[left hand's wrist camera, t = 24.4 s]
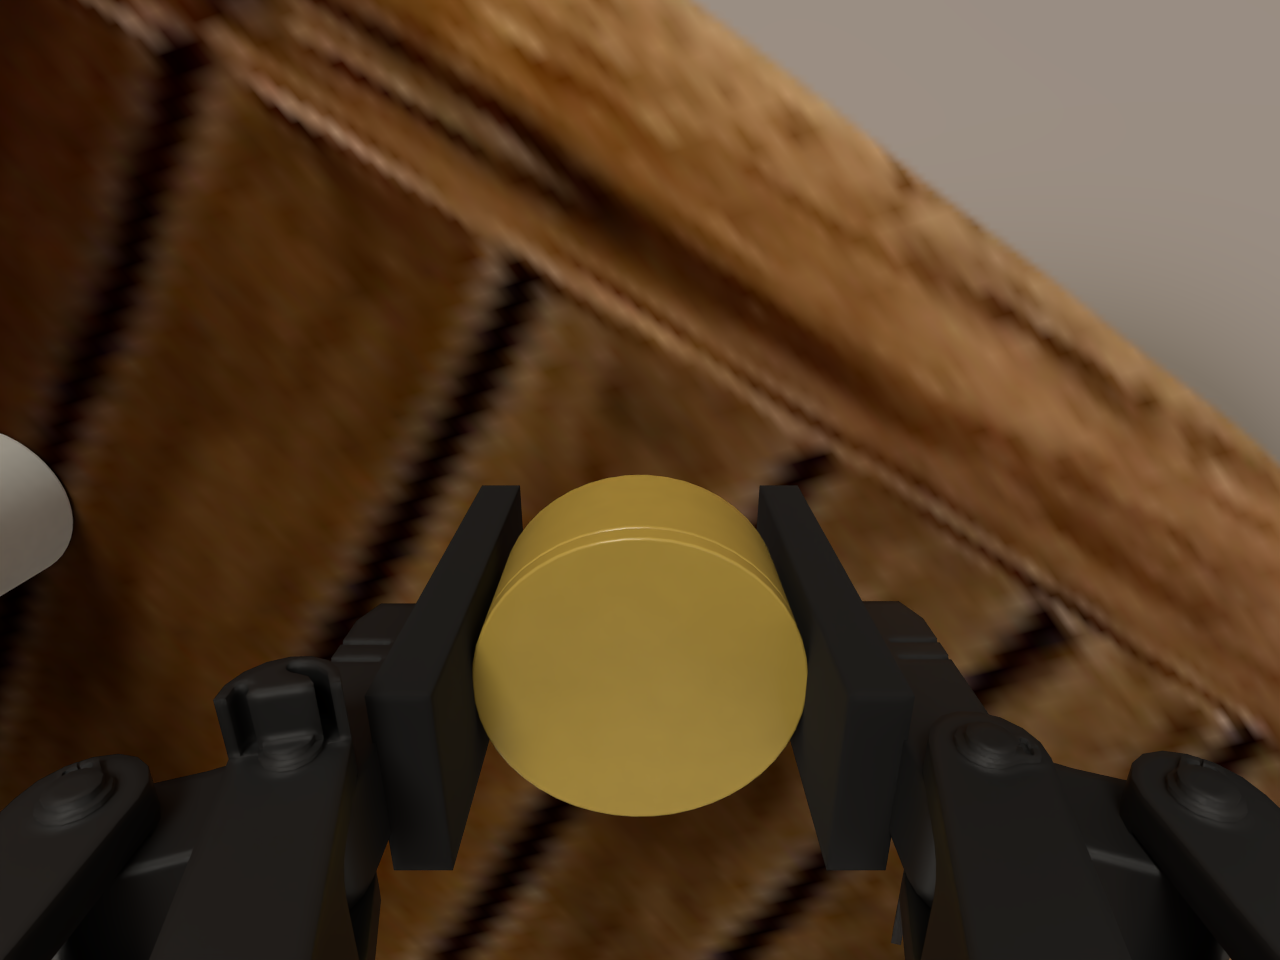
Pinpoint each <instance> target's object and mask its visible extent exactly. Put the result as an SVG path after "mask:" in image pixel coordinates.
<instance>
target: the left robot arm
mask: <svg viewBox="0 0 1280 960" xmlns="http://www.w3.org/2000/svg"><path fill="white" fill-rule="evenodd" d="M757 531H758V533H759V534H760V536H761V538H762V539H763V541H764V543H765V544H766V546H767V548H768V550H769V553H770V555H771V557H772V560H773V562H774V565H775V568H776V570H777V573H778V576H779V578H780V581H781V584H782V586H783V589H784V592H785V594H786V597H787V600H788V602H789V605H790V608H791V610H792V613H793V616H794V618H795V621H796V624H797V627H798V629H799V632H800V634H801V637H802V640H803V644H804V648H805V652H806V656H807V666H808V673H807V684H806V694H805V703H804V708H803V713H802V715H801V718H800V720H799V723H798V725H797V728H796V730H795V732H794V733H793V735H792V737H791V739H790V741H791V744H792V748H793V752H794V755H795V759H796V762H797V766H798V769H799V773H800V777H801V780H802V784H803V787H804V791H805V794H806V798H807V802H808V805H809V809H810V812H811V816H812V819H813V823H814V827H815V830H816V834H817V837H818V841H819V844H820V848H821V851H822V855H823V859H824V862H825V866H826V869H827V870H886V864H887V859H888V853H889V847H890V841H891V837H892V840H893V842H894V845H895V847H896V850H897V853H898V855H899V858H900V860H901V863H902V865H903V868H904V873H903V878H902V884H901V889H900V894H899V900H898V905H897V911H896V916H895V922H894V927H893V934H892V941H891V943H894V944H899V945H901V940H902V935H903V942H904V952H905V960H1229V958H1231V959H1232V960H1280V808H1279V807H1278V806H1277V805H1276V804H1275V803H1274V802H1273V801H1272V800H1270V799H1269V798H1268V797H1267V796H1266V795H1265V794H1264V793H1262V792H1261V791H1260V790H1258V789H1257V788H1256V787H1255V786H1253V785H1252V784H1251V783H1249V782H1248V781H1247V780H1245V779H1244V778H1243V777H1241V776H1239V775H1237V774H1235V773H1233V772H1231V771H1229V770H1227V769H1225V768H1223V767H1221V766H1220V765H1218V764H1216V763H1213V762H1210V761H1207V760H1205V759H1201V758H1198V757H1195V756H1192V755H1188V754H1183V753H1175V752H1167V751H1158V752H1152V753H1146V754H1142V755H1141V756H1140V757H1139V758H1138V759H1136V760H1135V761H1134V762H1133V763H1132V765H1131V769H1130V772H1129V775H1128V778H1127V780H1122V779H1118V778H1113V777H1109V776H1104V775H1100V774H1095V773H1091V772H1086V771H1082V770H1077V769H1073V768H1069V767H1066V766H1063V765H1059V764H1056V763H1053V761H1052V759H1051V757H1050V756H1049V754H1048V753H1047V751H1046V750H1045V748H1044V747H1043V745H1042V744H1041V743H1040V742H1039V741H1038V740H1037V739H1035V738H1034V737H1033V736H1032V735H1030V734H1029V733H1028V732H1027V731H1025V730H1024V729H1023V728H1021V727H1019V726H1017V725H1015V724H1013V723H1011V722H1009V721H1007V720H1005V719H1002V718H1000V717H996V716H992V715H989V714H988V713H987V711H986V710H985V708H984V707H983V705H982V704H981V702H980V701H979V700H978V698H977V697H976V695H975V694H974V692H973V691H972V689H971V688H970V686H969V685H968V683H967V682H966V680H965V679H964V678H963V676H962V675H961V673H960V672H959V670H958V669H957V667H956V666H955V664H954V663H953V661H952V660H951V659H948V654H947V653H946V651H945V650H944V648H943V647H942V645H941V644H940V643H937V638H936V637H935V635H934V634H933V632H932V631H931V629H930V628H929V626H928V625H927V623H926V622H925V620H924V619H923V618H922V617H920V616H919V615H917V614H916V613H915V612H913V611H912V610H910V609H909V608H907V607H906V606H905V605H903V604H902V603H900V602H899V601H862V600H861V598H860V597H859V595H858V593H857V591H856V589H855V588H854V586H853V584H852V582H851V581H850V579H849V577H848V575H847V573H846V572H845V570H844V568H843V566H842V564H841V563H840V561H839V559H838V557H837V556H836V554H835V552H834V550H833V548H832V547H831V545H830V543H829V541H828V539H827V538H826V536H825V534H824V532H823V530H822V529H821V527H820V525H819V523H818V522H817V520H816V518H815V516H814V514H813V513H812V511H811V509H810V507H809V505H808V504H807V502H806V500H805V498H804V497H803V495H802V493H801V491H800V489H799V488H798V486H760V489H759V504H758V519H757ZM522 532H523V526H522V511H521V496H520V486H482V487H481V489H480V490H479V492H478V494H477V496H476V497H475V499H474V501H473V503H472V505H471V506H470V508H469V510H468V512H467V514H466V515H465V517H464V519H463V521H462V522H461V524H460V526H459V528H458V530H457V531H456V533H455V535H454V537H453V539H452V540H451V542H450V544H449V546H448V548H447V549H446V551H445V553H444V555H443V556H442V558H441V560H440V562H439V564H438V565H437V567H436V569H435V571H434V573H433V574H432V576H431V578H430V580H429V581H428V583H427V585H426V587H425V589H424V590H423V592H422V594H421V596H420V598H419V599H418V601H417V603H416V604H380V605H378V606H377V607H376V608H374V609H373V610H371V611H370V612H368V613H367V614H366V615H364V616H363V617H361V618H360V619H359V620H357V621H356V623H355V624H354V626H353V627H352V629H351V630H350V631H349V633H348V634H347V636H346V637H345V639H344V640H343V645H340V646H339V648H338V649H337V651H336V652H335V654H334V655H333V657H332V661H331V662H330V661H329V660H325V659H321V658H317V657H313V656H304V657H288V658H283V659H279V660H274V661H270V662H266V663H264V664H261V665H259V666H257V667H254V668H252V669H250V670H247V671H245V672H243V673H242V674H240V675H239V676H237V677H236V678H235V679H233V680H232V681H230V682H229V683H227V684H226V685H225V686H224V687H223V688H222V689H221V691H220V692H219V693H218V695H217V696H216V697H215V698H214V700H213V701H214V705H215V709H216V712H217V716H218V720H219V724H220V727H221V731H222V735H223V739H224V743H225V746H226V750H227V754H228V758H229V760H228V763H227V765H226V766H224V767H221V768H217V769H214V770H210V771H207V772H202V773H198V774H193V775H189V776H185V777H180V778H176V779H171V780H167V781H162V782H158V783H153V780H152V777H151V774H150V770H149V767H148V766H147V765H146V764H145V763H144V762H143V761H141V760H140V759H139V758H138V757H134V756H128V755H122V754H114V755H106V756H99V757H92V758H89V759H86V760H83V761H80V762H76V763H74V764H71V765H68V766H65V767H63V768H61V769H59V770H58V771H56V772H54V773H52V774H50V775H48V776H46V777H44V778H42V779H40V780H38V781H37V782H36V783H34V784H33V785H32V786H30V787H29V788H28V789H26V790H25V791H24V792H23V793H21V794H20V795H19V796H17V797H16V798H15V799H14V800H13V801H12V802H11V803H9V804H8V805H7V806H6V807H5V808H4V809H3V810H2V811H1V812H0V960H375V954H376V944H377V934H378V924H379V914H380V904H381V897H380V890H379V884H378V878H377V873H376V870H377V868H378V865H379V863H380V860H381V857H382V855H383V852H384V850H385V847H386V845H387V842H388V840H389V844H390V849H391V855H392V861H393V867H394V870H453V868H454V864H455V861H456V857H457V853H458V850H459V846H460V843H461V839H462V836H463V832H464V828H465V825H466V821H467V818H468V814H469V811H470V807H471V804H472V800H473V796H474V793H475V789H476V786H477V782H478V779H479V775H480V771H481V768H482V764H483V761H484V757H485V754H486V750H487V746H488V743H489V737H488V736H487V734H486V731H485V729H484V727H483V725H482V723H481V720H480V718H479V715H478V711H477V708H476V704H475V698H474V689H473V678H472V664H473V658H474V653H475V648H476V644H477V641H478V638H479V636H480V633H481V630H482V627H483V625H484V622H485V619H486V617H487V614H488V611H489V608H490V606H491V603H492V600H493V598H494V595H495V592H496V590H497V587H498V584H499V582H500V579H501V576H502V573H503V571H504V568H505V565H506V563H507V560H508V557H509V555H510V552H511V550H512V548H513V546H514V545H515V543H516V541H517V539H518V537H519V536H520V534H521V533H522Z"/></svg>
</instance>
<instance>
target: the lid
mask: <svg viewBox="0 0 1280 960" xmlns="http://www.w3.org/2000/svg"><path fill="white" fill-rule="evenodd" d="M807 673H808V666H807V656H806V652H805V648H804V644H803V640H802V637H801V634H800V632H799V629H798V627H797V624H796V621H795V618H794V616H793V613H792V610H791V608H790V605H789V602H788V600H787V597H786V594H785V592H784V589H783V586H782V584H781V581H780V578H779V576H778V573H777V570H776V568H775V565H774V562H773V560H772V557H771V555H770V553H769V550H768V548H767V546H766V544H765V543H764V541H763V539H762V538H761V536H760V534H759V533H758V531H757V530H756V529H755V528H754V527H753V525H752V524H751V523H750V522H749V520H748V519H747V518H746V517H745V516H744V515H742V514H741V513H740V512H739V511H738V510H737V509H736V508H735V507H734V506H732V505H731V504H729V503H728V502H726V501H725V500H724V499H722V498H721V497H719V496H717V495H715V494H714V493H712V492H710V491H708V490H706V489H704V488H702V487H699V486H696V485H693V484H691V483H688V482H685V481H681V480H677V479H673V478H668V477H661V476H651V475H626V476H619V477H612V478H607V479H603V480H599V481H596V482H592V483H589V484H586V485H584V486H581V487H579V488H577V489H574V490H572V491H570V492H568V493H567V494H565V495H563V496H561V497H560V498H558V499H556V500H555V501H553V502H552V503H551V504H549V505H548V506H547V507H546V508H544V509H543V510H542V511H541V512H540V513H539V514H538V515H537V516H536V517H535V518H534V519H533V520H532V521H531V522H530V523H529V524H528V525H527V526H526V528H525V529H524V530H523V532H522V533H521V534H520V536H519V537H518V539H517V541H516V543H515V545H514V546H513V548H512V550H511V552H510V555H509V557H508V560H507V563H506V565H505V568H504V571H503V573H502V576H501V579H500V582H499V584H498V587H497V590H496V592H495V595H494V598H493V600H492V603H491V606H490V608H489V611H488V614H487V617H486V619H485V622H484V625H483V627H482V630H481V633H480V636H479V638H478V641H477V644H476V648H475V653H474V658H473V664H472V678H473V689H474V698H475V704H476V708H477V711H478V715H479V718H480V720H481V723H482V725H483V727H484V729H485V731H486V734H487V736H488V737H489V739H490V740H491V742H492V743H493V745H494V746H495V748H496V750H497V751H498V752H499V753H500V755H501V756H502V757H503V758H504V759H505V760H506V762H507V763H508V764H509V765H510V766H511V767H512V768H513V769H514V770H515V771H517V772H518V773H519V774H520V775H521V776H522V777H523V778H525V779H526V780H527V781H529V782H530V783H532V784H533V785H534V786H536V787H537V788H539V789H540V790H542V791H544V792H546V793H548V794H549V795H551V796H553V797H555V798H557V799H559V800H562V801H564V802H567V803H569V804H572V805H574V806H577V807H581V808H584V809H587V810H591V811H595V812H600V813H605V814H611V815H619V816H631V817H642V816H660V815H669V814H676V813H680V812H685V811H689V810H693V809H696V808H699V807H702V806H705V805H708V804H711V803H714V802H716V801H718V800H720V799H723V798H725V797H727V796H729V795H731V794H733V793H734V792H736V791H738V790H739V789H741V788H743V787H744V786H746V785H747V784H749V783H750V782H751V781H753V780H754V779H755V778H756V777H758V776H759V775H760V774H762V773H763V772H764V771H765V770H766V769H767V768H768V767H769V766H770V765H771V764H772V763H773V762H774V761H775V760H776V758H777V757H778V756H779V755H780V753H781V752H782V751H783V749H784V748H785V747H786V746H787V744H788V742H789V740H790V739H791V737H792V735H793V733H794V732H795V730H796V728H797V725H798V723H799V720H800V718H801V715H802V713H803V708H804V703H805V694H806V684H807Z"/></svg>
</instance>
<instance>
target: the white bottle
mask: <svg viewBox="0 0 1280 960" xmlns="http://www.w3.org/2000/svg"><path fill="white" fill-rule="evenodd" d="M72 530H73V516H72V509H71V505H70V502H69V499H68V497H67V494H66V492H65V490H64V488H63V486H62V484H61V482H60V481H59V479H58V478H57V477H56V475H55V474H54V472H53V471H52V470H51V469H50V468H49V467H48V465H47V464H46V463H45V462H44V461H43V460H42V459H41V458H39V457H38V456H37V455H36V454H35V453H34V452H32V451H31V450H30V449H28V448H27V447H25V446H24V445H22V444H21V443H19V442H18V441H16V440H14V439H12V438H10V437H8V436H6V435H3V434H1V433H0V596H2V595H3V594H5V593H7V592H8V591H10V590H11V589H13V588H15V587H16V586H18V585H20V584H21V583H23V582H25V581H26V580H28V579H30V578H31V577H33V576H35V575H36V574H38V573H40V572H41V571H43V570H45V569H46V568H48V567H50V566H51V565H52V564H54V563H55V562H56V561H57V560H58V559H59V558H60V557H61V556H62V555H63V553H64V552H65V550H66V548H67V547H68V544H69V542H70V539H71V535H72Z"/></svg>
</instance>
